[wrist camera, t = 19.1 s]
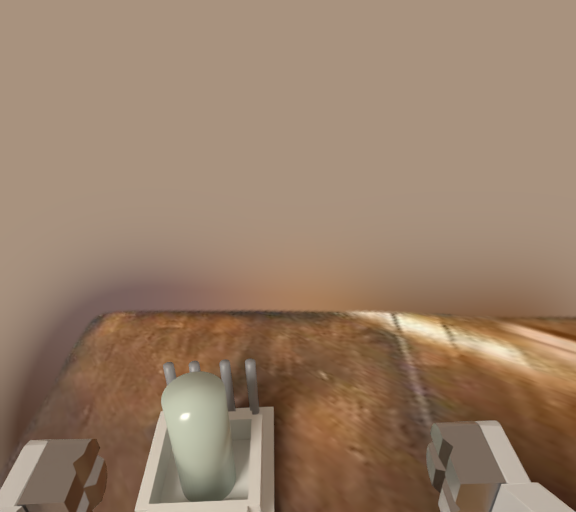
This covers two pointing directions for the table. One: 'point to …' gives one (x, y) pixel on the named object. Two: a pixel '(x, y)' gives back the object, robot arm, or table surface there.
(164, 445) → the dish rack
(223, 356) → the table surface
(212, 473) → the pale green canister
